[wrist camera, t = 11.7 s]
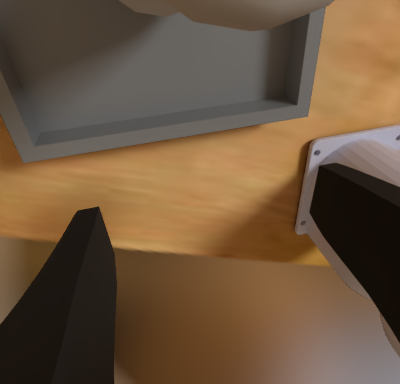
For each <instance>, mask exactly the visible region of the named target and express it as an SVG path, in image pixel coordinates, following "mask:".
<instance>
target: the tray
mask: <svg viewBox="0 0 400 384" xmlns="http://www.w3.org/2000/svg"><path fill="white" fill-rule="evenodd" d="M325 9H326V7H324V8H321V9H319V10H316V11H314V12H311V13H309V14H306V15H304V16H301V17H299V18H296V19H294V20H291V21H289V22H286V23H284V24H281V25H279V26H276V27H274V28H271V29H269V30H260V31H246V30H240V29H234V28H228V27H221V26H215V25H209V24H203V23H197V22H193V21H191V20H190V19H189V18H187V17H186V16H185V15H183V14H182V13H181V12H179V13H176V14H174V15H171V16H169V17H163V16H157V15H151V14H145V13H139V12H135V11H133V10H132V9H130V8H129V7H128V6H126V5H125V4H123V3H122V2H120V1H119V0H0V115H1V117H2V119H3V121H4V123H5V125H6V127H7V129H8V132H9V134H10V136H11V138H12V140H13V142H14V144H15V146H16V148H17V150H18V152H19V154H20V157H21V159H22V161H23V163H28V162H34V161H40V160H46V159H52V158H58V157H64V156H71V155H77V154H83V153H89V152H95V151H101V150H107V149H113V148H119V147H125V146H131V145H137V144H144V143H150V142H156V141H162V140H168V139H174V138H180V137H186V136H192V135H198V134H204V133H210V132H217V131H223V130H229V129H235V128H241V127H247V126H253V125H259V124H265V123H271V122H277V121H283V120H290V119H296V118H302V117H308V113H309V107H310V101H311V95H312V89H313V82H314V76H315V70H316V64H317V58H318V52H319V46H320V39H321V33H322V27H323V21H324V15H325Z"/></svg>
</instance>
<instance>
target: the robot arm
mask: <svg viewBox="0 0 400 384" xmlns="http://www.w3.org/2000/svg"><path fill="white" fill-rule="evenodd" d="M399 149H400V124H398V125H392V126H386V127H381V128H375V129H370V130H364V131H358V132H353V133H347V134H342V135H336V136H330V137H325V138H319V139H315V140H313V141H312V142H311V144H310V146H309V152H308V158H307V163H306V169H305V175H304V180H303V186H302V192H301V197H300V203H299V208H298V214H297V220H296V225H295V232H296V233H297V235H302V234H308V236H309V237H310V238H311V240H312V241H313V242H314V243H315V245H316V246H317V247H318V249H319V250H320V251H321V253H322V254H323V255H324V257H325V258H326V259H327V261H328V262H329V263H330V264H331V266H332V267H333V268H334V270H335V271H336V272H337V274H338V275H339V276H340V277H341V279H342V280H343V281H344V282H345V283H346V285H348V286H349V287H350V288H351V289H352V290H354V291H355V292H357V293H358V294H360V295H362V296H364V297H365V298H368V299H370V300H372V301H373V302H374V303H375V305H376V306H377V308H378V309H379V311H380V317H381V321H382V324H383V328H384V331H385V334H386V336H387V338H388V340H389V342H390V344H391V346H392V347H393V349H394V350H395V351H396V353H397V354H398V356H399V357H400V152H399ZM316 150H317V152H316V153H314V152H315V151H316ZM116 292H117V280H116V266H115V254H114V251H113V248H112V245H111V242H110V239H109V236H108V233H107V230H106V226H105V223H104V220H103V217H102V214H101V211H100V208H99V207H94V208H89V209H84V210H78V211H77V212H76V214H75V215H74V217H73V219H72V220H71V222H70V224H69V225H68V227H67V229H66V231H65V232H64V234H63V236H62V237H61V239H60V241H59V242H58V244H57V246H56V247H55V249H54V250H53V252H52V254H51V255H50V257H49V258H48V260H47V262H46V263H45V264H44V266H43V268H42V269H41V271H40V272H39V273H38V275H37V276H36V278H35V279H34V281H33V282H32V283H31V285H30V286H29V287H28V289H27V290H26V292H25V293H24V295H23V296H22V297H21V299H20V300H19V301H18V303H17V304H16V305H15V307H14V308H13V309H12V310H11V312H10V313H9V314H8V316H7V317H6V318H5V320H4V321H3V322H2V323H1V324H0V384H114V340H115V316H116Z"/></svg>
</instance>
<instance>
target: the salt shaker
mask: <svg viewBox="0 0 400 384" xmlns="http://www.w3.org/2000/svg"><path fill="white" fill-rule="evenodd" d="M119 1H120V2H122V3H123V4H125V5H126V6H128V7H129V8H130V9H132V10H133V11H135V12H139V13H145V14H151V15H157V16H163V17H169V16H171V15H174V14H176V13H179V12H181V13H182V14H183V15H185V16H186V17H187V18H189V19H190V20H191V21H193V22H197V23H203V24H209V25H215V26H221V27H228V28H234V29H240V30H246V31H260V30H269V29H271V28H274V27H276V26H279V25H281V24H284V23H286V22H289V21H291V20H294V19H296V18H299V17H301V16H304V15H306V14H309V13H311V12H314V11H316V10H319V9H321V8H324V7H326V6H328V5H330V4H331V3H332V2H333V1H334V0H119Z"/></svg>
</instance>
